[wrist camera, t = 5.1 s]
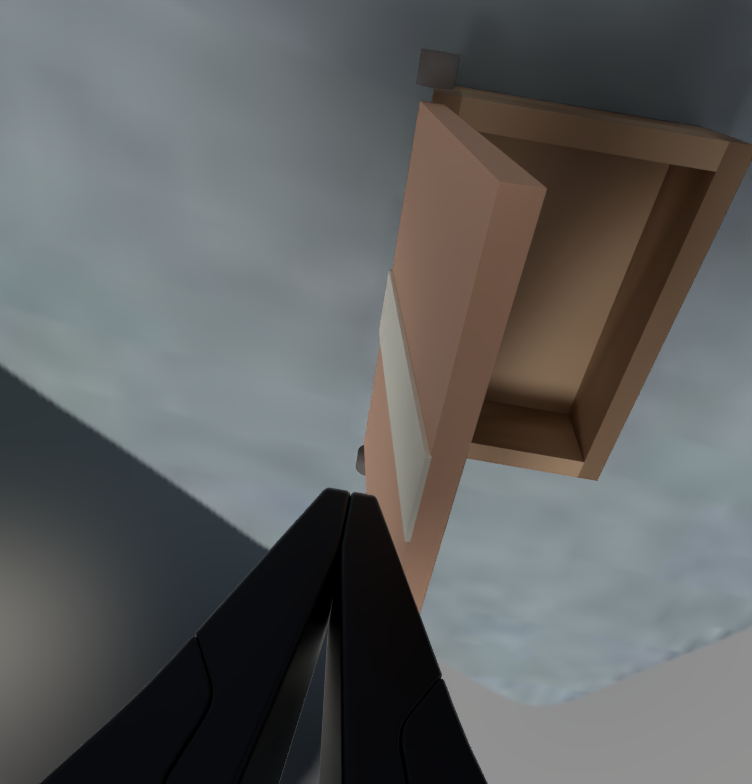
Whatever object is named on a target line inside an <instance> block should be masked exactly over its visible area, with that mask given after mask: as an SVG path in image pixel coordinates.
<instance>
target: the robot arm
mask: <svg viewBox="0 0 752 784" xmlns="http://www.w3.org/2000/svg"><path fill="white" fill-rule="evenodd" d="M331 605H332V607H331ZM330 611H331V613H330ZM329 616H330V620H329ZM328 620H329V628H328V639H327V656H326V674H325V690H324V707H323V708H324V709H323V725H322V743H321V760H320V778H319V784H487V781H486V779H485V777H484V775H483V773H482V771H481V768H480V766H479V764H478V762H477V760H476V758H475V756H474V754H473V751H472V750H471V747H470V745H469V743H468V740H467V738H466V735H465V733H464V730H463V728H462V725H461V723H460V721H459V718H458V715H457V713H456V710H455V708H454V705H453V703H452V700H451V697H450V695H449V692H448V689H447V687H446V684H445V681H444V680H443V679H441V677H442V673H441V671H440V668H439V665H438V663H437V660H436V657H435V654H434V652H433V649H432V646H431V644H430V641H429V638H428V635H427V633H426V630H425V627H424V625H423V622H422V619H421V616H420V614H419V611H418V608H417V605H416V603H415V600H414V597H413V595H412V592H411V589H410V586H409V584H408V581H407V578H406V576H405V573H404V570H403V567H402V565H401V562H400V559H399V557H398V554H397V551H396V548H395V546H394V543H393V540H392V538H391V535H390V532H389V529H388V527H387V524H386V521H385V518H384V516H383V513H382V510H381V508H380V505H379V502H378V500H377V498H376V497H375V496H374V495H369V494H363V493H358V492H354V493H352V494H351V496H350V493H349V492H348V491H346V490H340V489H334V488H326V489H325V490H323V491H322V493H321V494H320V495H319V496H318V497H317V498H316V499H315V500H314V501H313V503H312V504H311V505H310V506H309V507H308V508H307V509H306V510H305V511H304V513H303V514H302V515H301V516H300V517H299V518H298V519H297V520H296V521H295V523H294V524H293V525H292V526H291V527H290V528H289V529H288V530H287V531H286V533H285V534H284V535H283V536H282V537H281V538H280V539H279V540H278V541H277V543H276V544H275V545H274V546H273V547H272V548H271V549H270V550H269V551H268V553H267V554H266V555H265V556H264V557H263V558H262V559H261V560H260V561H259V563H258V564H257V565H256V566H255V567H254V568H253V569H252V570H251V571H250V573H249V574H248V575H247V576H246V577H245V578H244V579H243V580H242V581H241V582H240V584H239V585H238V586H237V587H236V588H235V589H234V590H233V591H232V593H231V594H230V595H229V596H228V597H227V598H226V599H225V600H224V601H223V602H222V604H221V605H220V606H219V607H218V608H217V609H216V610H215V612H213V614H212V615H211V616H210V617H209V618H208V619H207V620H206V621H205V623H204V624H203V625H202V626H201V627H200V628H199V629H198V630H197V631H196V633H195V637H194V636H193V637H191V638H190V639H189V640H188V641H187V642H186V643H185V644H184V646H182V648H181V649H180V650H179V651H178V652H177V653H176V654H175V655H174V657H173V658H172V659H171V660H170V661H169V662H168V663H167V664H166V665H165V666H164V667H163V668H162V669H161V670H160V671H159V672H158V673H157V675H155V676H154V677H153V679H152V680H151V681H150V682H149V683H148V684H147V685H146V686H145V687H144V688H143V689H142V690H141V691H140V692H139V693H138V694H137V695H136V696H134V698H132V699H131V700H130V701H129V702H128V703H127V704H126V705H125V706H124V707H123V708H122V709H121V710H120V711H118V712H117V713H116V714H115V715H114V716H113V717H112V718H111V719H110V720H109V721H108V722H107V723H106V724H105V725H103V726H102V727H101V728H100V729H99V730H98V731H97V732H96V733H95V734H93V735H92V736H91V737H90V738H89V739H88V740H87V741H86V742H85V743H83V744H82V745H81V746H80V747H79V748H78V749H77V750H76V751H75V752H74V753H72V754H71V755H70V756H69V757H68V758H67V759H66V760H65V761H63V762H62V763H61V764H60V765H59V766H58V767H57V768H56V769H55V770H54V771H52V772H51V773H50V774H49V775H48V776H47V777H46V778H45V779H43V780H42V781H41V782H40V783H39V784H279V782H280V778H281V775H282V772H283V769H284V766H285V762H286V759H287V756H288V752H289V749H290V746H291V743H292V739H293V736H294V733H295V730H296V726H297V723H298V720H299V717H300V713H301V710H302V707H303V704H304V701H305V698H306V694H307V691H308V688H309V685H310V681H311V678H312V675H313V672H314V668H315V665H316V662H317V659H318V656H319V652H320V649H321V646H322V643H323V639H324V636H325V632H326V629H327V625H328Z"/></svg>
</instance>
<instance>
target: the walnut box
mask: <svg viewBox="0 0 752 784" xmlns="http://www.w3.org/2000/svg"><path fill="white" fill-rule="evenodd" d="M459 60H460V55H457V54H452V53H447V52H441V51H435V50H428V49H422V50H421V57H420V63H419V69H418V76H417V82H416V83H417V84H419V85H423V86H428V87H433V88H434V91H433V97H432V103H437V104H444V105H445V106H447V107H448V108H449V109H450V110H452V111H453V112H454V113H455V114H457V115H458V116H459V117H460V118H461V119H463V120H464V121H465V122H466V123H468V124H469V125H470V126H471V127H472V128H474V129H475V130H476V131H477V132H479V133H480V134H481V135H482V136H484V137H485V138H486V139H487V140H488V141H490V142H491V143H492V144H493V145H495V146H496V147H497V148H498V149H500V150H501V151H502V152H503V153H504V154H506V155H507V156H508V157H509V158H511V159H512V160H513V161H514V162H515V163H517V164H518V165H519V166H520V167H522V168H523V169H524V170H525V171H527V172H528V173H529V174H530V175H531V176H533V177H534V178H535V179H536V180H538V181H539V182H540V183H541V184H542V185H544V186H545V187H546V188H547V191H546V194H545V197H544V201H543V204H542V207H541V211H540V214H539V218H538V221H537V224H536V228H535V231H534V234H533V238H532V241H531V244H530V248H529V251H528V254H527V258H526V261H525V264H524V268H523V271H522V274H521V278H520V281H519V284H518V288H517V291H516V294H515V298H514V301H513V304H512V308H511V311H510V314H509V318H508V321H507V325H506V328H505V331H504V335H503V338H502V341H501V345H500V348H499V351H498V355H497V358H496V361H495V365H494V368H493V371H492V375H491V378H490V381H489V385H488V388H487V391H486V395H485V398H484V401H483V405H482V408H481V411H480V415H479V418H478V421H477V425H476V428H475V432H474V435H473V438H472V442H471V445H470V448H469V452H468V455H467V458H468V459H474V460H480V461H485V462H491V463H497V464H503V465H509V466H514V467H520V468H526V469H532V470H538V471H544V472H549V473H555V474H561V475H567V476H573V477H578V478H584V479H590V480H596V481H597V480H598V478H599V476H600V474H601V472H602V470H603V468H604V466H605V463H606V461H607V459H608V457H609V455H610V453H611V451H612V449H613V447H614V445H615V443H616V441H617V439H618V436H619V434H620V432H621V430H622V428H623V426H624V424H625V422H626V420H627V418H628V416H629V414H630V412H631V410H632V407H633V405H634V403H635V401H636V399H637V397H638V395H639V393H640V391H641V389H642V387H643V385H644V383H645V380H646V378H647V376H648V374H649V372H650V370H651V368H652V366H653V364H654V362H655V360H656V358H657V356H658V353H659V351H660V349H661V347H662V345H663V343H664V341H665V339H666V337H667V335H668V333H669V331H670V329H671V326H672V324H673V322H674V320H675V318H676V316H677V314H678V312H679V310H680V308H681V306H682V304H683V302H684V299H685V297H686V295H687V293H688V291H689V289H690V287H691V285H692V283H693V281H694V279H695V277H696V275H697V272H698V270H699V268H700V266H701V264H702V262H703V260H704V258H705V256H706V254H707V252H708V250H709V248H710V246H711V243H712V241H713V239H714V237H715V235H716V233H717V231H718V229H719V227H720V225H721V223H722V221H723V219H724V216H725V214H726V212H727V210H728V208H729V206H730V204H731V202H732V200H733V198H734V196H735V194H736V192H737V189H738V187H739V185H740V183H741V181H742V179H743V177H744V175H745V173H746V171H747V169H748V167H749V165H750V162H751V160H752V144H749V143H746V142H743V141H741V140H738V139H735V138H732V137H729V136H726V135H723V134H720V133H717V132H715V131H712V130H709V129H706V128H703V127H699V126H693V125H687V124H681V123H675V122H669V121H663V120H657V119H651V118H645V117H639V116H633V115H628V114H622V113H616V112H610V111H604V110H598V109H592V108H586V107H580V106H574V105H568V104H562V103H556V102H550V101H544V100H538V99H532V98H527V97H521V96H515V95H509V94H503V93H497V92H491V91H485V90H479V89H473V88H467V87H461V86H455V81H456V76H457V70H458V65H459ZM356 469H357V471H358V472H359V473H360V474H362V475H365V476H366V473H365V456H364V445H363V446H361V447H360V448H359V450H358V456H357V462H356Z"/></svg>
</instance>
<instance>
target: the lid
mask: <svg viewBox="0 0 752 784" xmlns="http://www.w3.org/2000/svg"><path fill="white" fill-rule="evenodd" d="M546 191H547V188H546V187H545V186H544V185H542V184H541V183H540V182H539V181H538V180H536V179H535V178H534V177H533V176H531V175H530V174H529V173H528V172H527V171H525V170H524V169H523V168H522V167H520V166H519V165H518V164H517V163H515V162H514V161H513V160H512V159H511V158H509V157H508V156H507V155H506V154H504V153H503V152H502V151H501V150H500V149H498V148H497V147H496V146H495V145H493V144H492V143H491V142H490V141H488V140H487V139H486V138H485V137H484V136H482V135H481V134H480V133H479V132H477V131H476V130H475V129H474V128H472V127H471V126H470V125H469V124H468V123H466V122H465V121H464V120H463V119H461V118H460V117H459V116H458V115H457V114H455V113H454V112H453V111H452V110H450V109H449V108H448V107H447V106H445V105H444V104H437V103H431V102H424V101H420V104H419V110H418V116H417V122H416V128H415V134H414V140H413V147H412V153H411V159H410V165H409V171H408V177H407V183H406V189H405V196H404V202H403V208H402V214H401V220H400V226H399V232H398V238H397V244H396V251H395V257H394V263H393V269H392V270H389V272H388V279H387V285H386V291H385V297H384V304H383V310H382V316H381V322H380V329H379V337H380V348H379V355H378V361H377V367H376V373H375V379H374V385H373V391H372V397H371V403H370V410H369V416H368V422H367V428H366V434H365V440H364V456H365V473H366V491H367V494H369V495H374V496H375V497H376V498H377V500H378V502H379V505H380V508H381V510H382V513H383V516H384V518H385V521H386V524H387V527H388V529H389V532H390V535H391V538H392V540H393V543H394V546H395V548H396V551H397V554H398V557H399V559H400V562H401V565H402V567H403V570H404V573H405V576H406V578H407V581H408V584H409V586H410V589H411V592H412V595H413V597H414V600H415V603H416V605H417V608H418V611H419V614H420V612H421V609H422V605H423V602H424V599H425V595H426V592H427V589H428V585H429V582H430V579H431V575H432V572H433V569H434V565H435V562H436V559H437V555H438V552H439V549H440V545H441V542H442V539H443V535H444V532H445V529H446V525H447V522H448V518H449V515H450V512H451V508H452V505H453V502H454V498H455V495H456V492H457V488H458V485H459V482H460V478H461V475H462V472H463V468H464V465H465V462H466V458H467V455H468V452H469V448H470V445H471V442H472V438H473V435H474V432H475V428H476V425H477V421H478V418H479V415H480V411H481V408H482V405H483V401H484V398H485V395H486V391H487V388H488V385H489V381H490V378H491V375H492V371H493V368H494V365H495V361H496V358H497V355H498V351H499V348H500V345H501V341H502V338H503V335H504V331H505V328H506V325H507V321H508V318H509V314H510V311H511V308H512V304H513V301H514V298H515V294H516V291H517V288H518V284H519V281H520V278H521V274H522V271H523V268H524V264H525V261H526V258H527V254H528V251H529V248H530V244H531V241H532V238H533V234H534V231H535V228H536V224H537V221H538V218H539V214H540V211H541V207H542V204H543V201H544V197H545V194H546Z"/></svg>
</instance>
